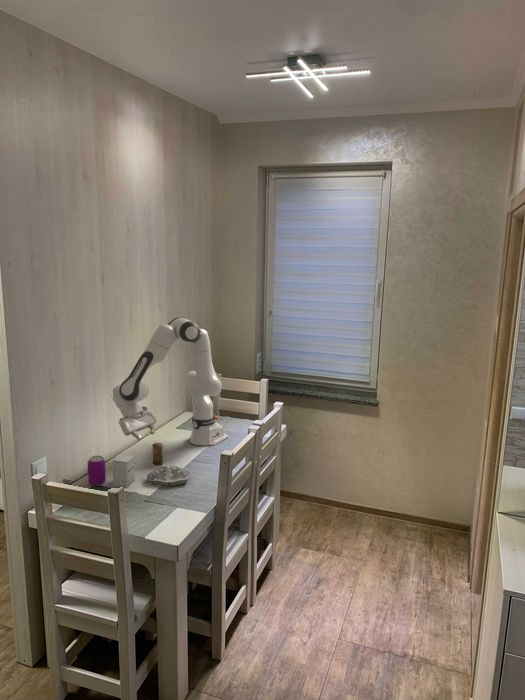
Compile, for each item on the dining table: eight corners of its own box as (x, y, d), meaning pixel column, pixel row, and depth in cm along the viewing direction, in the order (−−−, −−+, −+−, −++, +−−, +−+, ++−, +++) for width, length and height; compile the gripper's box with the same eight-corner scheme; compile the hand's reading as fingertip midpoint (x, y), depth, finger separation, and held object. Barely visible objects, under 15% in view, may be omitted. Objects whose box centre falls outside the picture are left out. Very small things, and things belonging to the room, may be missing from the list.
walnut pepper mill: (158, 460, 258) (158, 442, 256) (164, 463, 255) (164, 444, 253) (150, 463, 255) (150, 444, 253) (156, 466, 252) (156, 447, 250)
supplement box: (127, 488, 229) (126, 461, 227) (112, 486, 231) (111, 460, 228) (134, 480, 236) (134, 455, 234) (119, 478, 238) (119, 453, 235)
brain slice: (188, 470, 249) (188, 465, 249) (190, 487, 233) (190, 481, 232) (147, 472, 246) (147, 466, 245) (146, 489, 229) (145, 483, 229)
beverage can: (109, 481, 235) (108, 456, 233) (97, 488, 228) (96, 463, 226) (96, 477, 238) (95, 453, 236) (84, 484, 231) (83, 459, 229)
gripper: (120, 416, 249) (135, 439, 246) (149, 405, 266) (164, 427, 263) (113, 423, 252) (128, 446, 249) (143, 412, 269) (157, 433, 266)
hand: (146, 436), depth 256 cm, fingers open, 8 cm apart
